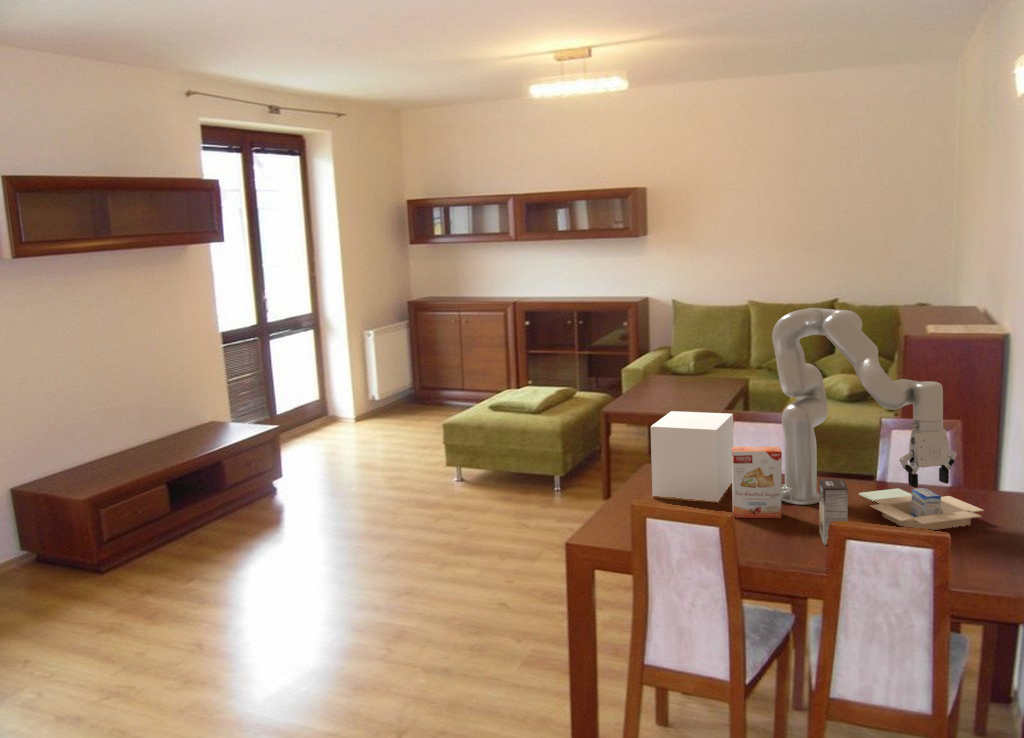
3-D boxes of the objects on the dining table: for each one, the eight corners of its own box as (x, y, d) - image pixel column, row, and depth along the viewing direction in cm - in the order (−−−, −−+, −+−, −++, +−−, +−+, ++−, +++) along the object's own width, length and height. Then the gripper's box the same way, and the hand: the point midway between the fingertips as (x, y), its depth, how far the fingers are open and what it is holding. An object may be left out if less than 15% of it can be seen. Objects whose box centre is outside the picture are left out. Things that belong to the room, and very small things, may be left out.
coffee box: (818, 533, 235) (818, 478, 233) (842, 534, 234) (842, 478, 232) (823, 545, 227) (823, 487, 224) (848, 545, 225) (849, 488, 223)
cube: (673, 478, 298) (671, 411, 294) (733, 483, 288) (732, 413, 285) (652, 499, 276) (650, 426, 272) (717, 505, 266) (716, 429, 263)
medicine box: (910, 517, 244) (910, 488, 243) (925, 516, 245) (925, 487, 244) (925, 526, 237) (926, 496, 235) (941, 525, 237) (941, 495, 236)
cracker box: (733, 518, 251) (732, 450, 248) (732, 512, 257) (731, 446, 254) (782, 519, 249) (781, 450, 246) (779, 512, 255) (779, 445, 251)
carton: (909, 538, 228) (909, 524, 227) (861, 514, 249) (861, 501, 249) (993, 528, 232) (994, 514, 232) (939, 504, 254) (940, 492, 253)
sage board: (885, 507, 254) (886, 505, 254) (858, 494, 267) (858, 492, 267) (927, 502, 256) (927, 500, 256) (898, 490, 270) (898, 488, 270)
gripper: (909, 431, 231) (909, 491, 234) (964, 424, 234) (965, 484, 236) (892, 426, 239) (893, 484, 241) (946, 420, 242) (946, 477, 244)
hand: (928, 484), depth 239 cm, fingers open, 9 cm apart
